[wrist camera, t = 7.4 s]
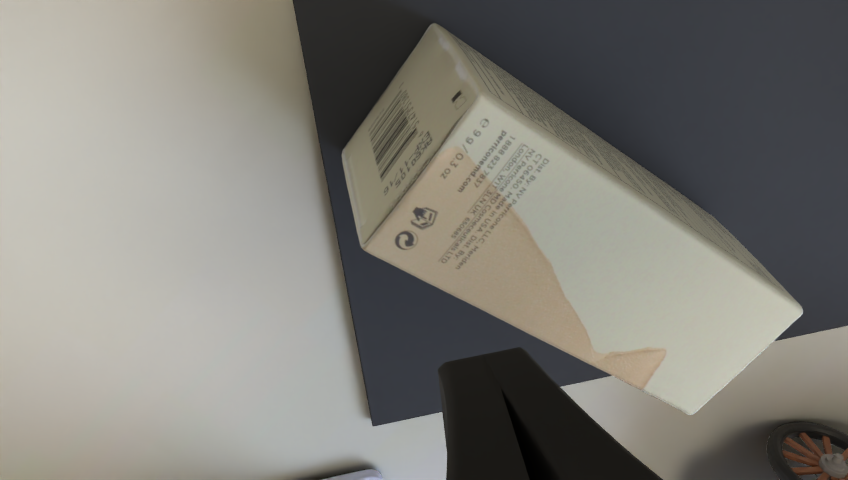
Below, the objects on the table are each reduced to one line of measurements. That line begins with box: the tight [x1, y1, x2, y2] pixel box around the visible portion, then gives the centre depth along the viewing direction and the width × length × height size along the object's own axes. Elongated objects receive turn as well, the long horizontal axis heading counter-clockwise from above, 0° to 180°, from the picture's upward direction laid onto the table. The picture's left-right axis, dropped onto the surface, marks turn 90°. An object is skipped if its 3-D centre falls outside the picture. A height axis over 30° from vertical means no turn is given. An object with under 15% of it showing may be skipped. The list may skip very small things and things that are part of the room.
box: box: [342, 23, 803, 415], centre depth 20 cm, size 5×4×11 cm
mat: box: [293, 0, 848, 426], centre depth 21 cm, size 20×20×1 cm
